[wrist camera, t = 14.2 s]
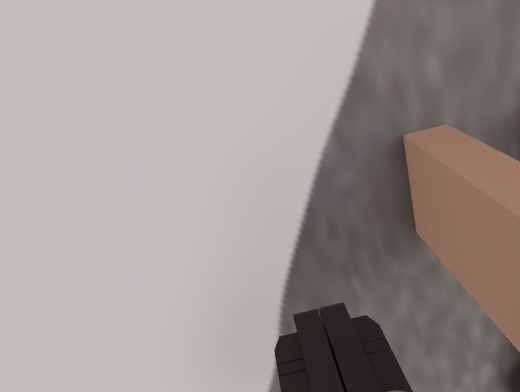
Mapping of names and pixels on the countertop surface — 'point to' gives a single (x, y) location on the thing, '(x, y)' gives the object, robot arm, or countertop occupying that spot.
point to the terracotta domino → (470, 216)
